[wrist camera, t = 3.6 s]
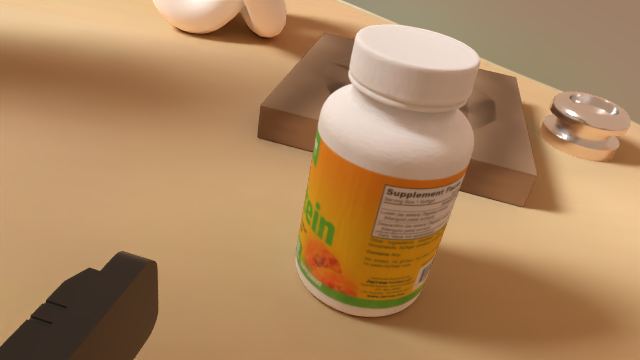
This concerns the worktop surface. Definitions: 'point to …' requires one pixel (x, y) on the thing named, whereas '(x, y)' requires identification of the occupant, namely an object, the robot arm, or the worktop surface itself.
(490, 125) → the socket board
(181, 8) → the white knot
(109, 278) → the robot arm
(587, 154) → the metal grooved wheel
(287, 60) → the worktop surface
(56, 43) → the worktop surface
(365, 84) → the supplement bottle
